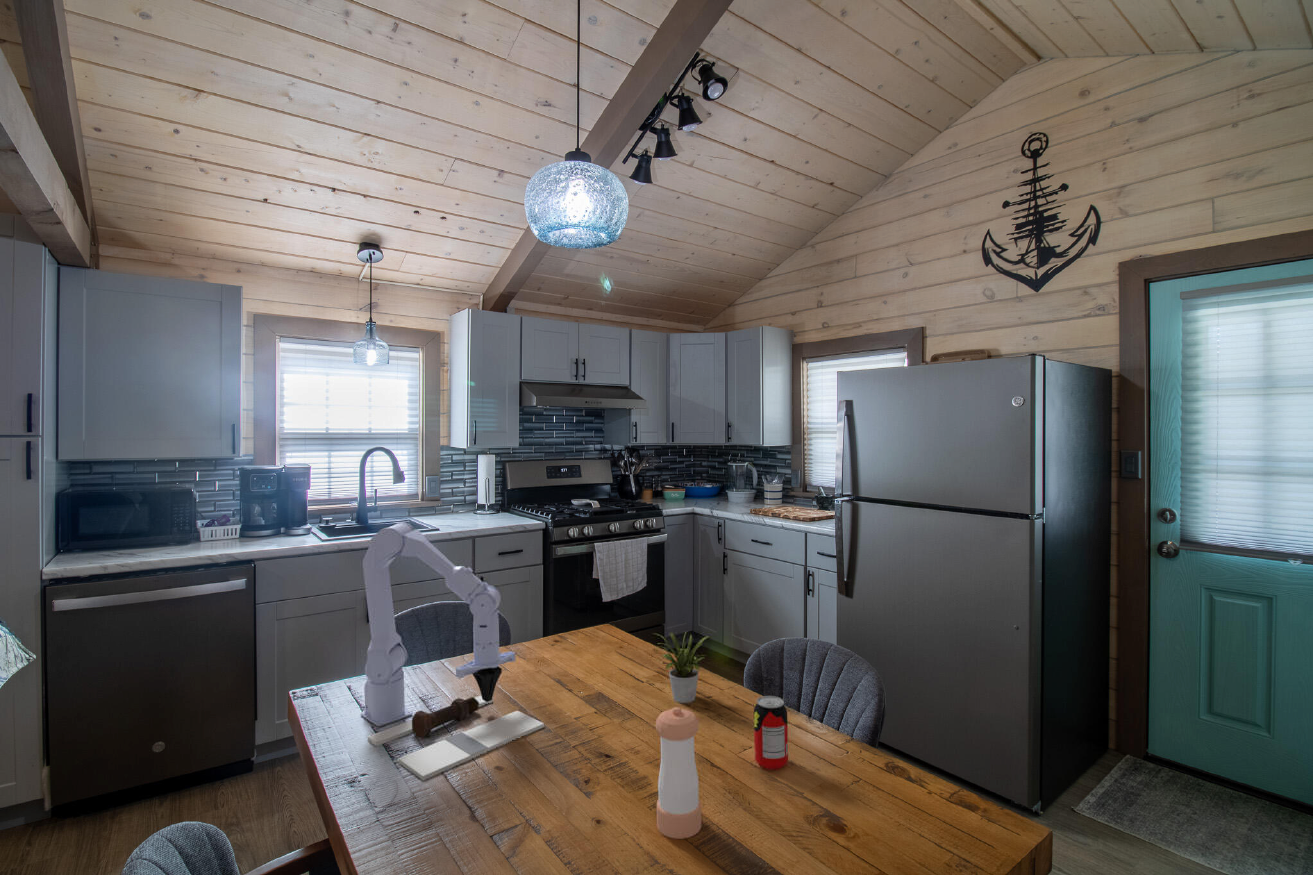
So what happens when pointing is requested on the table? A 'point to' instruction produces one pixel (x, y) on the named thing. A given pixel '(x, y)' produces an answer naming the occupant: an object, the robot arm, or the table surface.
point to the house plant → (683, 670)
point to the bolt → (442, 716)
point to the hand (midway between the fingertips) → (487, 699)
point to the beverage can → (770, 732)
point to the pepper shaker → (678, 775)
